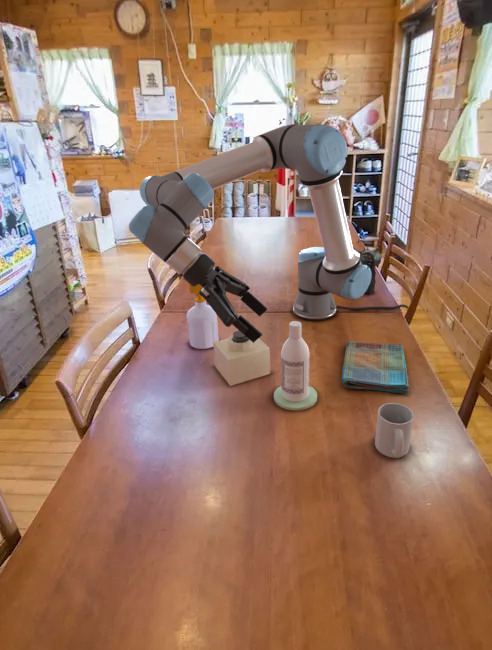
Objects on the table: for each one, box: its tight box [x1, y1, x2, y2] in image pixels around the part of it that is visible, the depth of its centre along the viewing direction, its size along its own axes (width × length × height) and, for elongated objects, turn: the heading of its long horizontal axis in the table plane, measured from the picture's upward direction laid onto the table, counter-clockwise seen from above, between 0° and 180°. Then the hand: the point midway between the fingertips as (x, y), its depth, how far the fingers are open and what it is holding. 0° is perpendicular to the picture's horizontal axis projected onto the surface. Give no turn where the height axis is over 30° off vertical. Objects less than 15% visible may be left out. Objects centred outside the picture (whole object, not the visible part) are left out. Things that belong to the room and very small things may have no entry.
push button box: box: [213, 334, 271, 387], centre depth 125 cm, size 12×11×10 cm
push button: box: [232, 329, 248, 343], centre depth 122 cm, size 4×4×2 cm
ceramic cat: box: [353, 239, 382, 295], centre depth 176 cm, size 20×6×20 cm, turn 46°
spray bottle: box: [186, 283, 220, 350], centre depth 136 cm, size 9×9×25 cm
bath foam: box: [280, 320, 311, 402], centre depth 110 cm, size 7×7×20 cm
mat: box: [273, 385, 318, 412], centre depth 115 cm, size 11×11×1 cm
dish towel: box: [341, 340, 410, 395], centre depth 126 cm, size 17×23×2 cm
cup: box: [374, 402, 415, 459], centre depth 95 cm, size 7×10×9 cm
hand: (261, 324), depth 107 cm, fingers open, 13 cm apart
